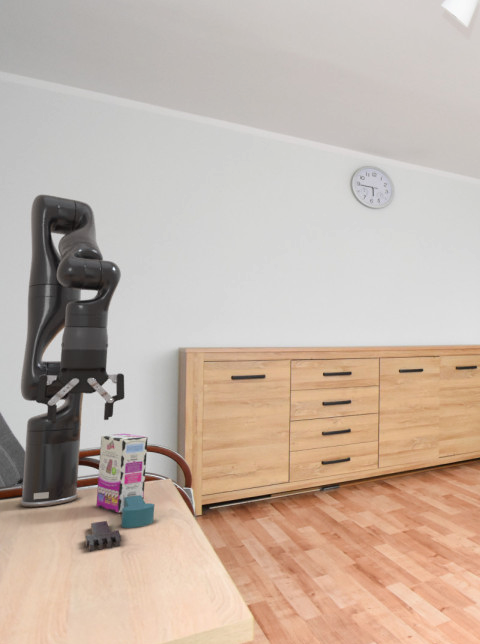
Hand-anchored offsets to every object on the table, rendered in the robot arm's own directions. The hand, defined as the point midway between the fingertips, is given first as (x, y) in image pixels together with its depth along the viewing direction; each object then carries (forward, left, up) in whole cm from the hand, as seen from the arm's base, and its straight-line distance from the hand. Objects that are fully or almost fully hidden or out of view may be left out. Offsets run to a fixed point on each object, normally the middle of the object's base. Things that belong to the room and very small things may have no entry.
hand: (80, 421), depth 123 cm
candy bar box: (-1, +8, -21) cm, 22 cm away
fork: (+23, +3, -21) cm, 31 cm away
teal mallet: (+13, +9, -21) cm, 26 cm away
